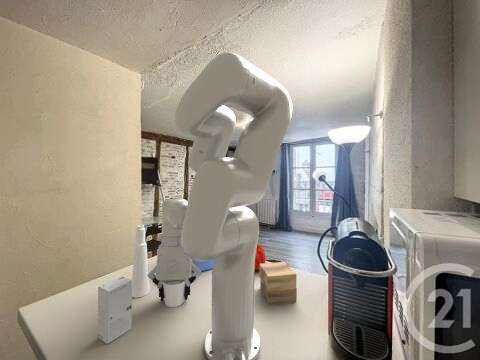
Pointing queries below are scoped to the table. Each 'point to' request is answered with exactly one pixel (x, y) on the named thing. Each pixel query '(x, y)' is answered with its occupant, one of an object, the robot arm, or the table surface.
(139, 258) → the cosmetic bottle
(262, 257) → the tomato
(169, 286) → the white cup
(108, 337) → the skincare box
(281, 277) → the tower top block
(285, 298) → the tower base block
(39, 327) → the table surface
